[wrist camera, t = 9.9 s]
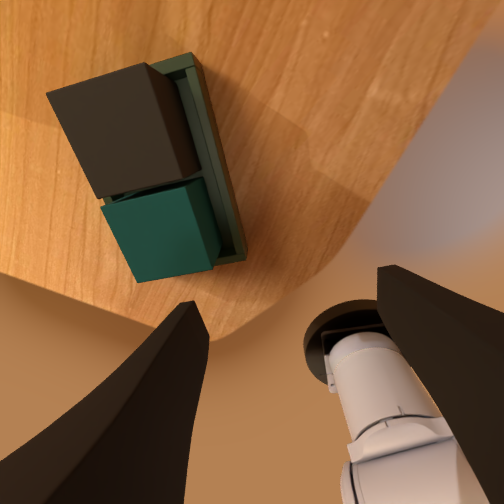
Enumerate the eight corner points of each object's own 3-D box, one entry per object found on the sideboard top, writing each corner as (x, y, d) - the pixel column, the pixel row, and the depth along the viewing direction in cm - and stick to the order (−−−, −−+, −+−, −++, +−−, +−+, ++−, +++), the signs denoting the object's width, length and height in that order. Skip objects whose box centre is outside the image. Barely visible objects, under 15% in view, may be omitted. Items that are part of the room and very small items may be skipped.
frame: (248, 249, 19) (246, 260, 17) (152, 267, 20) (141, 280, 18) (200, 62, 14) (191, 51, 12) (77, 100, 15) (52, 94, 13)
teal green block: (223, 242, 18) (212, 269, 15) (162, 254, 19) (137, 283, 15) (203, 176, 16) (185, 187, 13) (136, 192, 17) (99, 206, 13)
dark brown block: (202, 169, 16) (183, 178, 12) (134, 186, 17) (96, 199, 13) (176, 82, 14) (144, 61, 10) (100, 104, 15) (44, 92, 11)
